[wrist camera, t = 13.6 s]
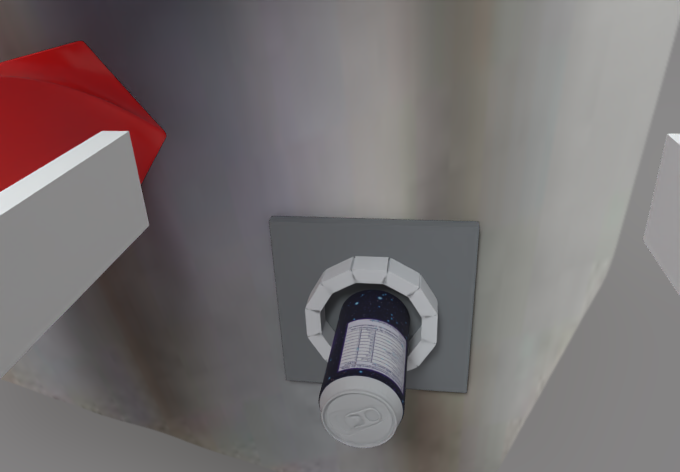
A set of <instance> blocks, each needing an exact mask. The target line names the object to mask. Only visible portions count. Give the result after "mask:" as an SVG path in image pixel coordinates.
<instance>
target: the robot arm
mask: <svg viewBox="0 0 680 472" xmlns="http://www.w3.org/2000/svg"><path fill="white" fill-rule="evenodd" d="M148 226H149V222H148V217H147V212H146V208H145V203H144V198H143V194H142V189H141V184H140V180H139V175H138V171H137V166H136V161H135V157H134V152H133V147H132V143H131V138H130V133H129V131H101V132H99V133H98V134H96V135H94V136H93V137H91V138H89V139H88V140H86V141H84V142H83V143H81V144H79V145H78V146H76V147H74V148H73V149H71V150H69V151H68V152H66V153H64V154H63V155H61V156H59V157H58V158H56V159H54V160H53V161H51V162H49V163H48V164H46V165H44V166H43V167H41V168H39V169H38V170H36V171H34V172H33V173H31V174H29V175H28V176H26V177H24V178H23V179H21V180H20V181H18V182H16V183H15V184H13V185H11V186H10V187H8V188H6V189H5V190H3V191H1V192H0V379H1V378H2V377H3V376H4V375H5V374H6V372H7V371H8V370H9V369H10V368H11V367H12V366H13V365H14V364H15V363H16V362H17V361H18V360H19V359H20V358H21V357H22V356H23V355H24V354H25V353H26V352H27V351H28V350H29V349H30V348H31V347H32V346H33V345H34V344H35V343H36V342H37V341H38V340H39V339H40V337H41V336H42V335H43V334H44V333H45V332H46V331H47V330H48V329H49V328H50V327H51V326H52V325H53V324H54V323H55V322H56V321H57V320H58V319H59V318H60V317H61V316H62V315H63V314H64V313H65V312H66V311H67V310H68V309H69V308H70V307H71V306H72V305H73V304H74V302H75V301H76V300H77V299H78V298H79V297H80V296H81V295H82V294H83V293H84V292H85V291H86V290H87V289H88V288H89V287H90V286H91V285H92V284H93V283H94V282H95V281H96V280H97V279H98V278H99V277H100V276H101V275H102V274H103V273H104V272H105V271H106V270H107V269H108V267H109V266H110V265H111V264H112V263H113V262H114V261H115V260H116V259H117V258H118V257H119V256H120V255H121V254H122V253H123V252H124V251H125V250H126V249H127V248H128V247H129V246H130V245H131V244H132V243H133V242H134V241H135V240H136V239H137V238H138V237H139V236H140V235H141V234H142V232H143V231H144V230H145V229H146V228H147V227H148ZM643 241H644V243H645V244H646V246H647V247H648V249H649V250H650V252H651V253H652V255H653V256H654V258H655V259H656V261H657V262H658V264H659V265H660V267H661V268H662V270H663V271H664V273H665V275H666V276H667V278H668V279H669V281H670V282H671V284H672V285H673V287H674V288H675V290H676V291H677V293H678V294H679V296H680V134H667V137H666V141H665V146H664V150H663V155H662V159H661V163H660V168H659V173H658V177H657V181H656V185H655V190H654V194H653V199H652V203H651V207H650V212H649V216H648V221H647V225H646V230H645V234H644V238H643Z"/></svg>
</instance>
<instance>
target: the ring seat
mask: <svg viewBox="0 0 680 472" xmlns="http://www.w3.org/2000/svg"><path fill="white" fill-rule="evenodd" d="M269 227H270V236H271V246H272V255H273V264H274V273H275V282H276V292H277V301H278V310H279V319H280V328H281V338H282V347H283V356H284V365H285V374H286V380H290V381H304V382H319V383H323V379H324V375H325V371H326V367H327V363H328V359H329V355H330V351H331V347H332V343H333V339H334V335H335V331H336V327H337V323H338V318H339V314H340V310H341V307H342V305H343V303H344V302H345V301H346V300H347V299H348V298H349V297H350V296H351V295H353V294H355V293H357V292H359V291H363V290H370V289H375V290H382V291H385V292H388V293H390V294H392V295H394V296H396V297H397V298H398V299H400V300H401V301H402V302H403V303H404V305H405V306H406V308H407V310H408V312H409V316H410V328H409V344H408V359H407V375H406V389H419V390H433V391H447V392H461V393H467V380H468V368H469V355H470V342H471V329H472V317H473V304H474V291H475V278H476V265H477V253H478V240H479V222H475V221H438V220H401V219H364V218H327V217H290V216H272V217H271V219H270V220H269Z"/></svg>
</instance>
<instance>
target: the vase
mask: <svg viewBox="0 0 680 472" xmlns="http://www.w3.org/2000/svg"><path fill="white" fill-rule="evenodd" d="M101 131H129V133H130V138H131V143H132V147H133V152H134V157H135V161H136V166H137V171H138V175H139V180H140V184H142V182H143V180H144V178H145V176H146V174H147V172H148V170H149V168H150V166H151V165H152V163H153V161H154V159H155V157H156V155H157V153H158V151H159V149H160V148H161V146H162V144H163V142H164V140H165V138H166V133H165V131H164V130H163V129H162V128H161V127H160V126H159V125H158V124H157V123H156V122H155V121H154V119H153V118H152V117H151V116H150V115H149V114H148V113H147V112H146V111H145V110H144V109H143V107H142V106H141V105H140V104H139V103H138V102H137V101H136V100H135V99H134V98H133V96H132V95H131V94H130V93H129V92H128V91H127V90H126V89H125V88H124V86H123V85H122V84H121V83H120V82H119V81H118V80H117V79H116V78H115V76H114V75H113V74H112V73H111V72H110V71H109V70H108V69H107V67H106V66H105V65H104V64H103V63H102V62H101V61H100V60H99V58H98V57H97V56H96V55H95V54H94V53H93V52H92V51H91V49H90V48H89V47H88V46H87V45H86V44H85V43H84V42H83V41H76V42H72V43H69V44H65V45H62V46H58V47H54V48H51V49H47V50H44V51H40V52H36V53H33V54H29V55H26V56H22V57H18V58H15V59H11V60H8V61H4V62H1V63H0V192H1V191H3V190H5V189H6V188H8V187H10V186H11V185H13V184H15V183H16V182H18V181H20V180H21V179H23V178H24V177H26V176H28V175H29V174H31V173H33V172H34V171H36V170H38V169H39V168H41V167H43V166H44V165H46V164H48V163H49V162H51V161H53V160H54V159H56V158H58V157H59V156H61V155H63V154H64V153H66V152H68V151H69V150H71V149H73V148H74V147H76V146H78V145H79V144H81V143H83V142H84V141H86V140H88V139H89V138H91V137H93V136H94V135H96V134H98V133H99V132H101Z"/></svg>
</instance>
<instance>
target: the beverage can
mask: <svg viewBox="0 0 680 472" xmlns="http://www.w3.org/2000/svg"><path fill="white" fill-rule="evenodd" d="M409 328H410V316H409V312H408V310H407V308H406V306H405V305H404V303H403V302H402V301H401V300H400V299H398V298H397V297H396V296H394V295H392V294H390V293H388V292H385V291H382V290H375V289H370V290H363V291H359V292H357V293H355V294H353V295H351V296H350V297H349V298H348V299H347V300H346V301H345V302H344V303H343V305H342V307H341V310H340V314H339V318H338V323H337V327H336V331H335V335H334V339H333V343H332V347H331V351H330V355H329V359H328V363H327V367H326V371H325V375H324V379H323V383H322V387H321V391H320V395H319V407H320V411H321V418H322V423H323V426H324V427H325V429H326V431H327V432H328V433H329V434H330V435H331V436H332V437H333V438H334V439H336V440H337V441H339V442H341V443H343V444H345V445H348V446H351V447H357V448H371V447H376V446H379V445H381V444H384V443H385V442H387V441H388V440H389V439H390V438H391V437H392V436H393V435H394V433H395V431H396V428H397V426H398V425H399V423H400V422H401V420H402V418H403V415H404V406H405V390H406V375H407V359H408V344H409Z"/></svg>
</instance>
